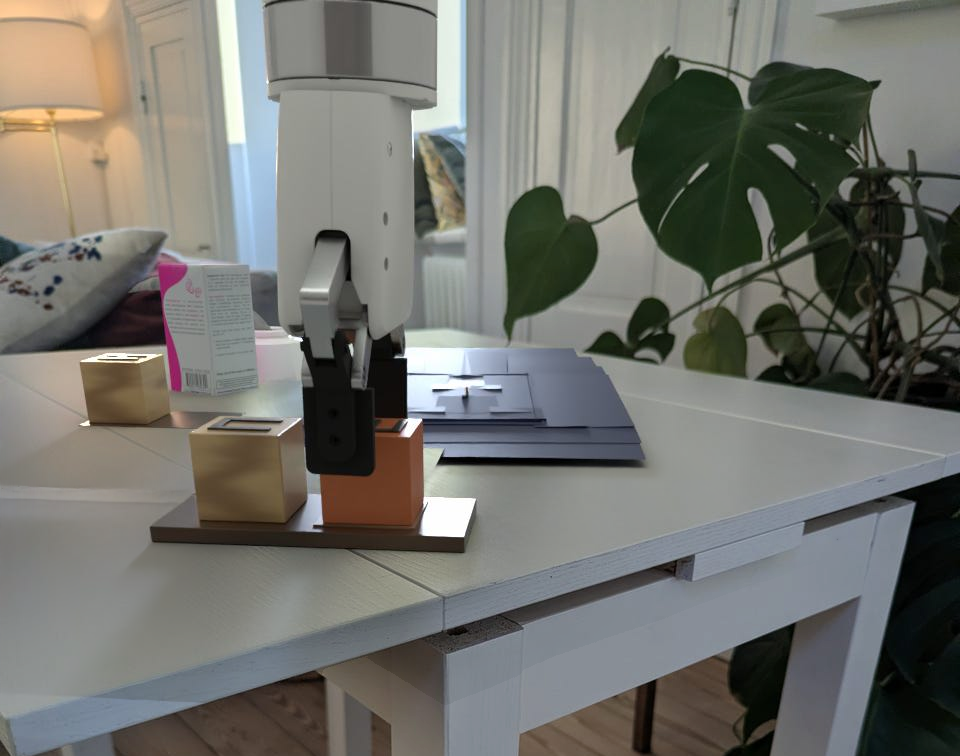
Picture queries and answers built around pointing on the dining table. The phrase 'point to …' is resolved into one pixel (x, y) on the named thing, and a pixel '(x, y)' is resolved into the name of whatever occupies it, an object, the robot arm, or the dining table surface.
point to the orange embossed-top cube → (381, 480)
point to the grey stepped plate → (517, 404)
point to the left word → (134, 394)
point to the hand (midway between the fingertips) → (361, 450)
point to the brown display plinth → (286, 497)
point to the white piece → (263, 345)
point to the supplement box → (209, 327)
